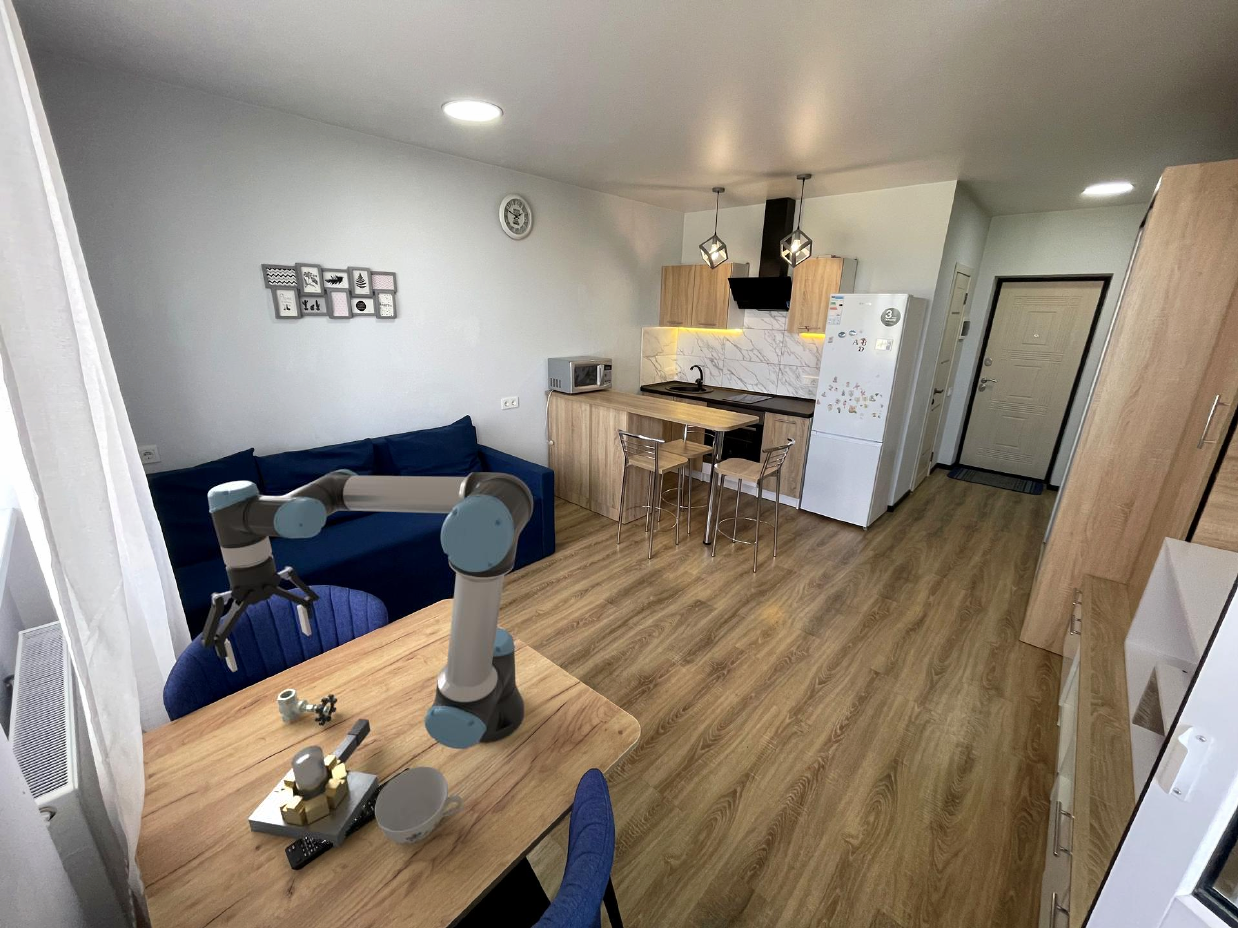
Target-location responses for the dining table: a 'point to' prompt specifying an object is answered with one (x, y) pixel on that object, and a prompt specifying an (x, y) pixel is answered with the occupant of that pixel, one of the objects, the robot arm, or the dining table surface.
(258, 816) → the plate
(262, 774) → the dining table surface
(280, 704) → the valve
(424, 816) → the teacup
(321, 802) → the grey bar gold ring
